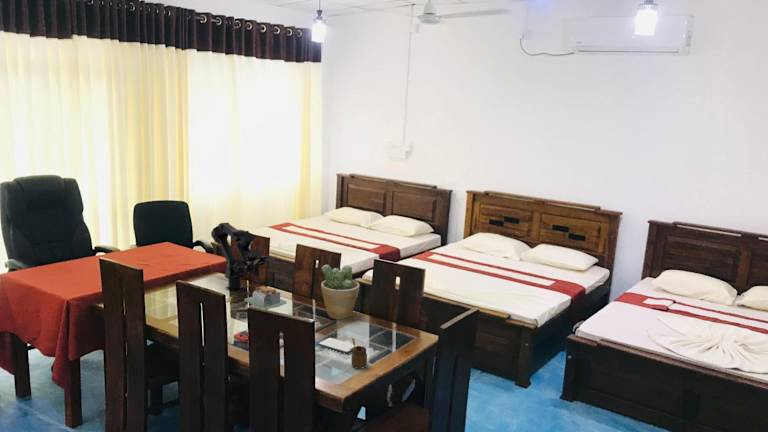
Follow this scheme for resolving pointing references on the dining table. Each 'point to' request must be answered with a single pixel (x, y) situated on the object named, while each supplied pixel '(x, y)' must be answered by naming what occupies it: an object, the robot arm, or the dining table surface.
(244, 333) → the gaming console
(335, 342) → the phone case
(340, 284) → the potted plant
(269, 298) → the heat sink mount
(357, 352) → the utensil holder
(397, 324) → the dining table surface
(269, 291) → the orange brown bar
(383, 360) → the dining table surface
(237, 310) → the dining table surface
